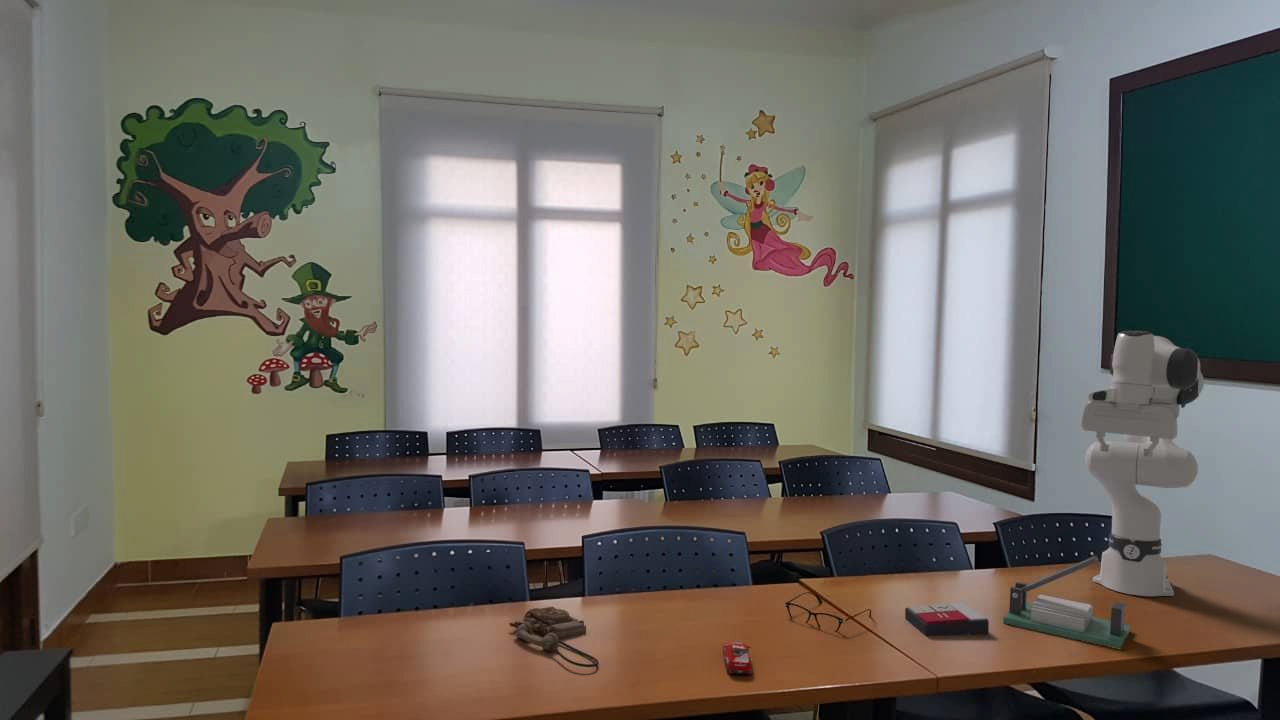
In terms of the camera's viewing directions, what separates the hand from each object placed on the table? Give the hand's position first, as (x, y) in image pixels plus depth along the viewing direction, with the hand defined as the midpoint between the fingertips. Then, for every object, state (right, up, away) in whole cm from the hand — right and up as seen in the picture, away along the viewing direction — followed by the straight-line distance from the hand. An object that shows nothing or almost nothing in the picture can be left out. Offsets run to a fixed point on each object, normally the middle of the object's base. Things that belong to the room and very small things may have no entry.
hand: (1125, 454), depth 204 cm
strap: (-20, -28, -8) cm, 35 cm away
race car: (-97, -39, -33) cm, 110 cm away
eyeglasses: (-73, -38, -5) cm, 82 cm away
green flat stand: (-19, -39, -8) cm, 44 cm away
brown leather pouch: (-135, -38, -23) cm, 142 cm away
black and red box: (-47, -39, -9) cm, 62 cm away
